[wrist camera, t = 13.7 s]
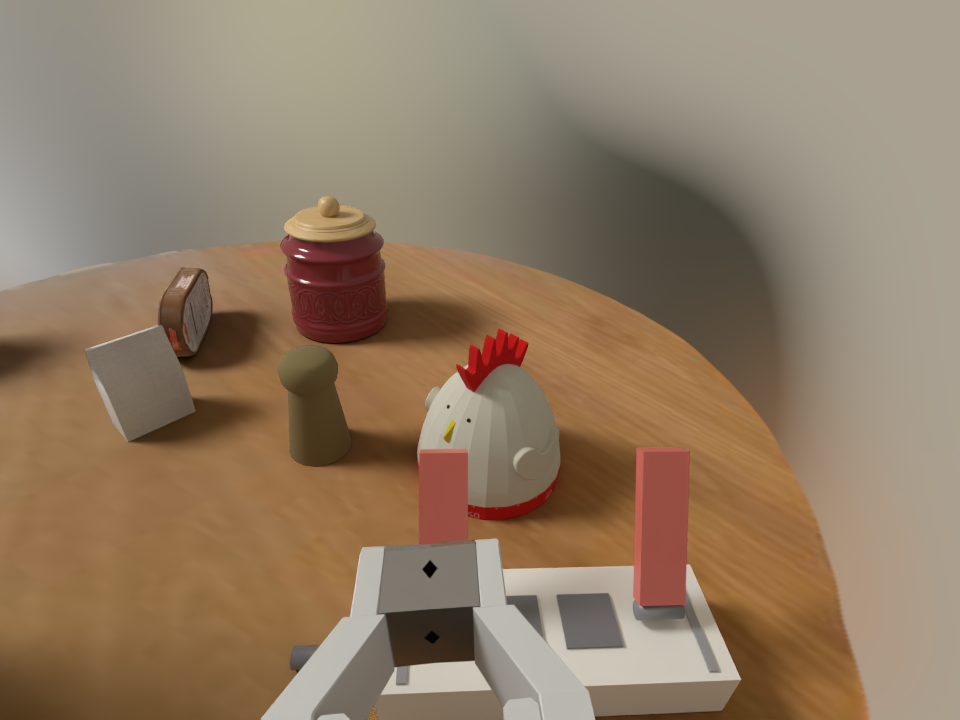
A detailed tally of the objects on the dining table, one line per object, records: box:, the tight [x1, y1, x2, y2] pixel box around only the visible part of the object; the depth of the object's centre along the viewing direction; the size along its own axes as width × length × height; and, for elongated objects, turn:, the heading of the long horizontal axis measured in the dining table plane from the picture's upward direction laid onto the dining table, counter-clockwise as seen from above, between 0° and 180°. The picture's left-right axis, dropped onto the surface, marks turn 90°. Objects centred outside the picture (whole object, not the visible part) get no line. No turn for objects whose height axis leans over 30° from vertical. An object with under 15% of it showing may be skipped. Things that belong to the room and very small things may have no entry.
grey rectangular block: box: [84, 324, 196, 442], centre depth 53 cm, size 4×7×10 cm, turn 139°
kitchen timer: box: [417, 329, 561, 520], centre depth 48 cm, size 14×14×15 cm
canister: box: [280, 196, 388, 343], centre depth 70 cm, size 13×13×18 cm
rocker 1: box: [419, 449, 468, 545], centre depth 33 cm, size 3×1×11 cm
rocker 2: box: [633, 447, 690, 620], centre depth 34 cm, size 3×1×11 cm, turn 93°
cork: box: [278, 345, 352, 467], centre depth 50 cm, size 6×6×11 cm
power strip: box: [290, 565, 741, 720], centre depth 35 cm, size 28×8×4 cm, turn 93°
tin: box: [158, 267, 212, 357], centre depth 67 cm, size 15×3×8 cm, turn 12°
